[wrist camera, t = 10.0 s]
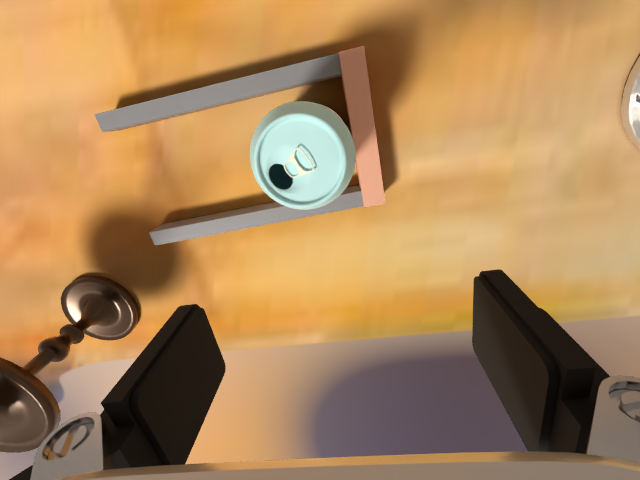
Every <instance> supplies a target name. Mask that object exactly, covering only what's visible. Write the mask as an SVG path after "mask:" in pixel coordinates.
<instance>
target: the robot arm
mask: <svg viewBox="0 0 640 480" xmlns="http://www.w3.org/2000/svg"><path fill="white" fill-rule="evenodd" d="M621 118H622V122H623V127H624V130H625V132H626V134H627V136H628V138H629V140H630V141H631V142H632V143H633V144H634V145H635V146H636V147H637V148H639V149H640V56H639V58H638V60H637V61H636V63H635V65H634V67H633V69H632V70H631V72H630V75H629V77H628V80H627V83H626V85H625V88H624V93H623V98H622V103H621ZM472 342H473V348H474V351H475V353H476V356H477V357H478V359H479V361H480V363H481V365H482V367H483V369H484V370H485V372H486V374H487V376H488V378H489V380H490V381H491V383H492V385H493V387H494V389H495V391H496V392H497V394H498V396H499V398H500V400H501V402H502V404H503V406H504V407H505V409H506V411H507V413H508V415H509V417H510V419H511V420H512V422H513V424H514V426H515V428H516V430H517V432H518V433H519V435H520V437H521V439H522V441H523V443H524V445H525V447H526V448H527V450H528V451H527V452H477V453H445V454H444V453H442V454H415V455H388V456H361V457H337V458H314V459H290V460H267V461H246V462H224V463H204V464H185V463H186V461H187V458H188V456H189V454H190V452H191V449H192V447H193V445H194V442H195V440H196V438H197V435H198V433H199V431H200V428H201V426H202V424H203V422H204V419H205V417H206V415H207V412H208V410H209V408H210V406H211V403H212V401H213V399H214V397H215V394H216V392H217V390H218V387H219V385H220V383H221V381H222V378H223V376H224V373H225V363H224V360H223V357H222V355H221V352H220V349H219V347H218V344H217V342H216V339H215V337H214V334H213V331H212V329H211V326H210V324H209V321H208V319H207V316H206V313H205V311H204V309H203V308H200V307H199V306H198V305H197V304H193V305H184V306H180V307H178V308H177V310H176V311H175V312H174V313H173V315H172V316H171V317H170V318H169V319H168V321H167V322H166V323H165V324H164V326H163V327H162V328H161V329H160V331H159V332H158V333H157V334H156V336H155V337H154V338H153V339H152V340H151V342H150V343H149V344H148V345H147V347H146V348H145V349H144V350H143V352H142V353H141V354H140V355H139V357H138V358H137V359H136V360H135V362H134V363H133V364H132V365H131V367H130V368H129V369H128V370H127V371H126V373H125V374H124V375H123V376H122V378H121V379H120V380H119V381H118V383H117V384H116V385H115V386H114V387H113V389H112V390H111V391H110V392H109V394H108V395H107V396H106V398H105V399H104V400H103V401H102V402H101V404H102V406H103V407H104V411H103V412H102V413H101V415H99V414H97V413H96V412H87V413H83V414H80V415H77V416H75V417H73V418H71V419H69V420H68V421H66V422H64V423H63V424H61V425H60V426H59V427H57V428H56V429H55V430H54V431H52V432H51V433H50V434H49V435H48V436H47V438H46V439H45V440H44V441H43V442H42V443H41V445H40V446H39V448H38V449H37V452H36V455H35V457H34V462H33V465H32V466H30V467H29V468H27V469H25V470H24V471H22V472H21V473H19V474H17V475H16V476H14V477H13V478H11V479H9V480H640V378H637V377H633V376H621V375H619V376H612V377H610V376H609V375H608V374H607V373H606V372H605V371H604V370H603V369H602V368H601V367H600V366H599V365H598V364H597V363H596V362H595V361H594V360H593V359H592V358H591V357H590V356H589V355H588V354H587V353H586V352H585V351H584V350H583V349H582V348H581V347H580V346H579V344H578V343H576V341H575V340H573V338H572V337H571V336H569V334H568V333H567V332H566V331H565V330H564V329H563V328H562V327H561V326H560V325H559V324H558V323H557V322H556V321H555V320H554V319H553V318H552V317H551V316H550V315H549V314H548V313H547V312H546V311H544V310H543V309H541V308H538V307H537V306H536V305H535V304H534V303H533V302H532V301H531V300H530V299H529V298H528V297H527V296H526V294H525V293H524V292H523V291H522V290H521V289H520V288H519V287H518V286H517V285H516V284H515V283H514V282H513V281H512V280H511V279H510V278H509V277H508V276H507V275H506V274H505V273H504V272H503V271H502V270H491V271H482V272H480V274H479V276H478V277H475V278H474V295H473V337H472Z"/></svg>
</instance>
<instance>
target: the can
mask: <svg viewBox="0 0 640 480" xmlns="http://www.w3.org/2000/svg"><path fill="white" fill-rule="evenodd" d="M250 161H251V166H252V170H253V173H254V176H255V178H256V180H257V182H258V184H259V185H260V187H261V188H262V189H263V191H264V192H265V193H266V194H267V195H268V196H269V197H271V198H272V199H273V200H275V201H276V202H278V203H280V204H281V205H284V206H286V207H289V208H293V209H299V210H309V209H315V208H319V207H322V206H324V205H327V204H329V203H330V202H332V201H333V200H335V199H336V198H337V197H338V196H339V195H341V193H342V192H343V191H344V190H345V189H346V187H347V186H348V184H349V182H350V180H351V178H352V175H353V172H354V168H355V161H356V152H355V146H354V141H353V138H352V136H351V133H350V131H349V129H348V128H347V126H346V125H345V123H344V122H343V120H342V119H341V117H340V116H339V115H338V114H337V113H336V112H335V111H333V110H332V109H330V108H329V107H327V106H324V105H321V104H317V103H313V102H308V101H295V102H289V103H286V104H283V105H281V106H278V107H277V108H275V109H273V110H272V111H271V112H269V113H268V114H267V115H266V116H265V117H264V118H263V119H262V120H261V122H260V123H259V125H258V126H257V128H256V130H255V132H254V135H253V138H252V141H251V147H250Z"/></svg>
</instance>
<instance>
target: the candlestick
mask: <svg viewBox="0 0 640 480" xmlns="http://www.w3.org/2000/svg"><path fill="white" fill-rule="evenodd" d="M61 305H62V309H63V312H64V314H65V316H66V317H67V318H68V320H69V321H70V322H71V323H72V324H73V325H71V324H68V325H65V326H63V327H62V328H61V329H60V335H59V336H58V337H51V338H48V339H45V340H43V341H42V342H41V343H40V344H39V346H38V351H39V354H38V355H37V356H36V357H34V358H33V359H32V360H31V361H30V362H28V363H27V364H26V365H25V366H24V367H20V366H18V365H16V364H14V363H12V362H10V361H8V360H5V359H3V358H0V451H1V452H25V451H30V450H33V449H36V448H38V447H39V446H40V445H41V443H42V442H43V441H44V440H45V439H46V438H47V436H48V435H49V434H50V433H51V432H52V431H54V430H55V429H56V428H57V427H58V425H59V422H60V409H59V406H58V403H57V401H56V399H55V398H54V396H53V394H52V393H51V392H50V391H49V389H48V388H47V387H46V386H45V385H44V384H43V383H42V382H41V381H40V380H39V379H37V378H36V377H35V375H36V374H37V373H39V372H40V371H41V370H42V369H43V368H44V367H45V366H46V365H47V364H49V363H50V362H51V361H52V362H59V361H62V360H64V359H65V358H66V357H67V356H68V353H69V351H70V345H71V344H77V343H80V342H81V341H82V340H83V339H84V333H85V334H87V335H89V336H91V337H94V338H97V339H101V340H117V339H121V338H123V337H125V336H127V335H128V334H129V333H130V332H131V331H132V330H133V329H134V328H135V326H136V325H137V323H138V320H139V309H138V306H137V303H136V301H135V300H134V298H133V297H132V295H131V294H130V293H129V292H128V291H127V290H126V289H125V288H124V287H122V286H121V285H119V284H118V283H116V282H114V281H112V280H110V279H107V278H103V277H99V276H86V277H82V278H79V279H77V280H75V281H74V282H72V283H71V284H69V285H68V286H67V287H66V288H65V289H64V291H63V293H62V296H61Z"/></svg>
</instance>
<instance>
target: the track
mask: <svg viewBox="0 0 640 480" xmlns="http://www.w3.org/2000/svg"><path fill="white" fill-rule="evenodd" d="M337 77H342V83H343V89H344V95H345V101H346V107H347V113H348V119H349V125H350V131H351V136H352V138H353V141H354V146H355V152H356V161H355V162H356V168H357V174H358V180H359V185H356V186H351V187H346V189H345V190H344V191H343V192H342V193H341V195H339V196H338V197H337V198H336V199H335V200H333V201H332V202H330V203H329V204H327V205H324V206H322V207H319V208H315V209H309V210H299V209H293V208H289V207H286V206H284V205H281V204H280V203H278V202H271V203H266V204H261V205H256V206H251V207H246V208H240V209H235V210H230V211H225V212H220V213H215V214H210V215H205V216H200V217H195V218H190V219H185V220H180V221H175V222H170V223H165V224H161V225H160V226H158V227H157V228H155V229H154V230H152V231H151V232H149V234H150V236H151V238H152V240H153V243H154V245H155V246H156V245H161V244H166V243H172V242H177V241H182V240H188V239H193V238H198V237H203V236H209V235H214V234H219V233H224V232H230V231H235V230H240V229H245V228H251V227H256V226H261V225H267V224H272V223H277V222H282V221H288V220H293V219H298V218H303V217H309V216H314V215H319V214H325V213H330V212H335V211H340V210H346V209H351V208H356V207H361V206H364V208H365V207H370V206H375V205H381V204H385V196H384V189H383V182H382V174H381V167H380V159H379V152H378V145H377V137H376V130H375V122H374V115H373V107H372V100H371V93H370V85H369V78H368V70H367V63H366V56H365V48H364V46H360V47H356V48H352V49H348V50H344V51H340V52H339V53H336V54H332V55H328V56H324V57H320V58H316V59H312V60H308V61H305V62H301V63H297V64H293V65H289V66H285V67H281V68H277V69H273V70H269V71H265V72H261V73H257V74H253V75H249V76H245V77H241V78H237V79H233V80H229V81H225V82H221V83H217V84H213V85H210V86H206V87H202V88H198V89H194V90H190V91H186V92H182V93H178V94H174V95H170V96H166V97H162V98H158V99H154V100H150V101H146V102H142V103H138V104H134V105H130V106H126V107H122V108H118V109H114V110H111V111H107V112H103V113H99V114H95V117H96V119H97V121H98V123H99V125H100V128H101V130H102V132H108V131H117V130H123V129H127V128H131V127H135V126H140V125H144V124H148V123H152V122H156V121H160V120H164V119H168V118H172V117H177V116H181V115H185V114H189V113H193V112H197V111H201V110H205V109H210V108H214V107H218V106H222V105H226V104H230V103H234V102H238V101H242V100H247V99H251V98H255V97H259V96H263V95H267V94H271V93H275V92H280V91H284V90H288V89H292V88H296V87H300V86H304V85H308V84H312V83H317V82H321V81H325V80H329V79H333V78H337Z"/></svg>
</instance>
